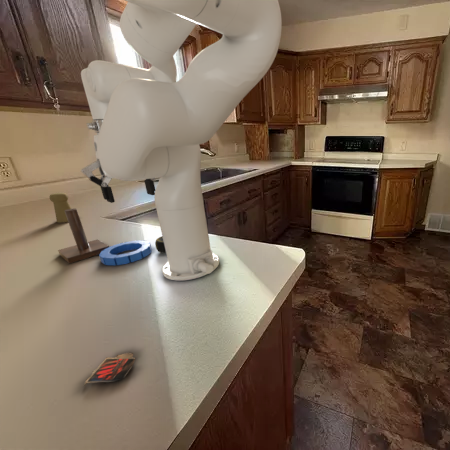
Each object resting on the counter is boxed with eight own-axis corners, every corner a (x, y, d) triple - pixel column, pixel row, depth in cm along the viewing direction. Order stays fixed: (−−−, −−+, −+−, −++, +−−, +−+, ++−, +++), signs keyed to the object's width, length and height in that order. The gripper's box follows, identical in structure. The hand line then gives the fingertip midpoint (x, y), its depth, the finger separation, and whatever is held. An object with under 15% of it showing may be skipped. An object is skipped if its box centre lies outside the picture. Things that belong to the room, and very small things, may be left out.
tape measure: (182, 253, 67) (180, 240, 65) (154, 257, 65) (151, 244, 63) (185, 243, 73) (183, 232, 71) (159, 247, 71) (157, 235, 69)
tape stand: (110, 250, 69) (97, 208, 65) (69, 263, 62) (51, 216, 58) (99, 243, 74) (86, 203, 70) (59, 254, 67) (42, 211, 63)
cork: (53, 221, 96) (43, 194, 92) (71, 217, 101) (62, 191, 98) (62, 223, 94) (51, 195, 90) (80, 218, 99) (71, 191, 95)
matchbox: (128, 379, 31) (127, 376, 31) (80, 391, 30) (79, 388, 30) (139, 351, 36) (138, 348, 35) (97, 360, 34) (96, 357, 34)
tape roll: (159, 252, 67) (157, 245, 67) (111, 269, 59) (109, 262, 58) (140, 243, 73) (139, 237, 73) (95, 258, 65) (93, 251, 64)
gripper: (73, 127, 50) (97, 207, 56) (159, 129, 64) (171, 193, 69) (63, 128, 54) (87, 203, 60) (145, 129, 68) (158, 190, 74)
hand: (132, 197), depth 65 cm, fingers open, 9 cm apart
